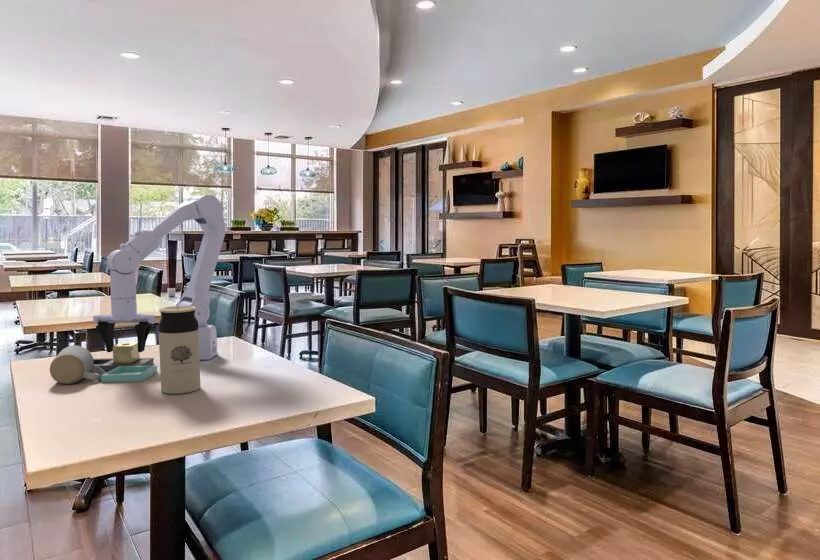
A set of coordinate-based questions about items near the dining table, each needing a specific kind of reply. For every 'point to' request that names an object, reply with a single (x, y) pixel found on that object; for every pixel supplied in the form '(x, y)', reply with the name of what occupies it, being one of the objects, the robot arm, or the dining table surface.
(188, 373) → the travel mug
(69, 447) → the dining table surface
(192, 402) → the dining table surface
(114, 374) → the tray
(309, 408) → the dining table surface
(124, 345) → the block
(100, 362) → the grey flat frame
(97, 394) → the dining table surface
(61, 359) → the ceramic mug
